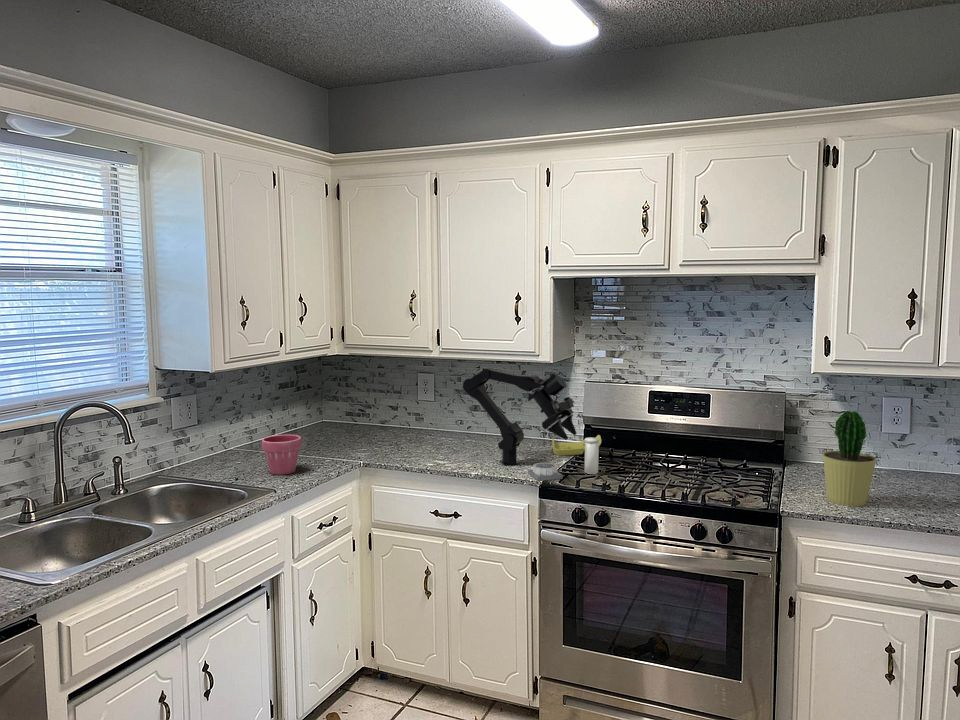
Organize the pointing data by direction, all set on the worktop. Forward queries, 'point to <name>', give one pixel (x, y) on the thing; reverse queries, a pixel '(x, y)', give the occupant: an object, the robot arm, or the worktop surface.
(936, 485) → the worktop surface
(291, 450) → the plant pot
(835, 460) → the potted cactus
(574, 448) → the plastic component
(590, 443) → the white cylinder
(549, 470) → the duct collar
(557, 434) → the robot arm
